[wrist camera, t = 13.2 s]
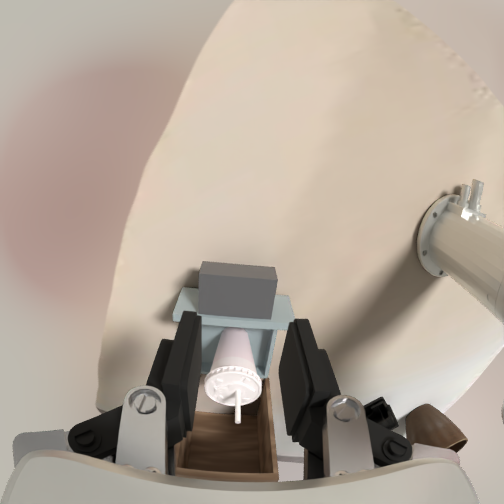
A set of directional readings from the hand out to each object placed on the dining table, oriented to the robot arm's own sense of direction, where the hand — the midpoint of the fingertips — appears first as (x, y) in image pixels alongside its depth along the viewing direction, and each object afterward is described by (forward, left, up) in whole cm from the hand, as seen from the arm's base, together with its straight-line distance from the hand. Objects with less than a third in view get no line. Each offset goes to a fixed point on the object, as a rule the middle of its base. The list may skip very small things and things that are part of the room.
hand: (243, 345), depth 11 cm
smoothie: (+17, 0, -21) cm, 27 cm away
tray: (+14, 0, -22) cm, 26 cm away
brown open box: (+33, 0, -22) cm, 39 cm away
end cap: (+40, +30, -23) cm, 54 cm away
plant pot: (+45, +48, -22) cm, 69 cm away
